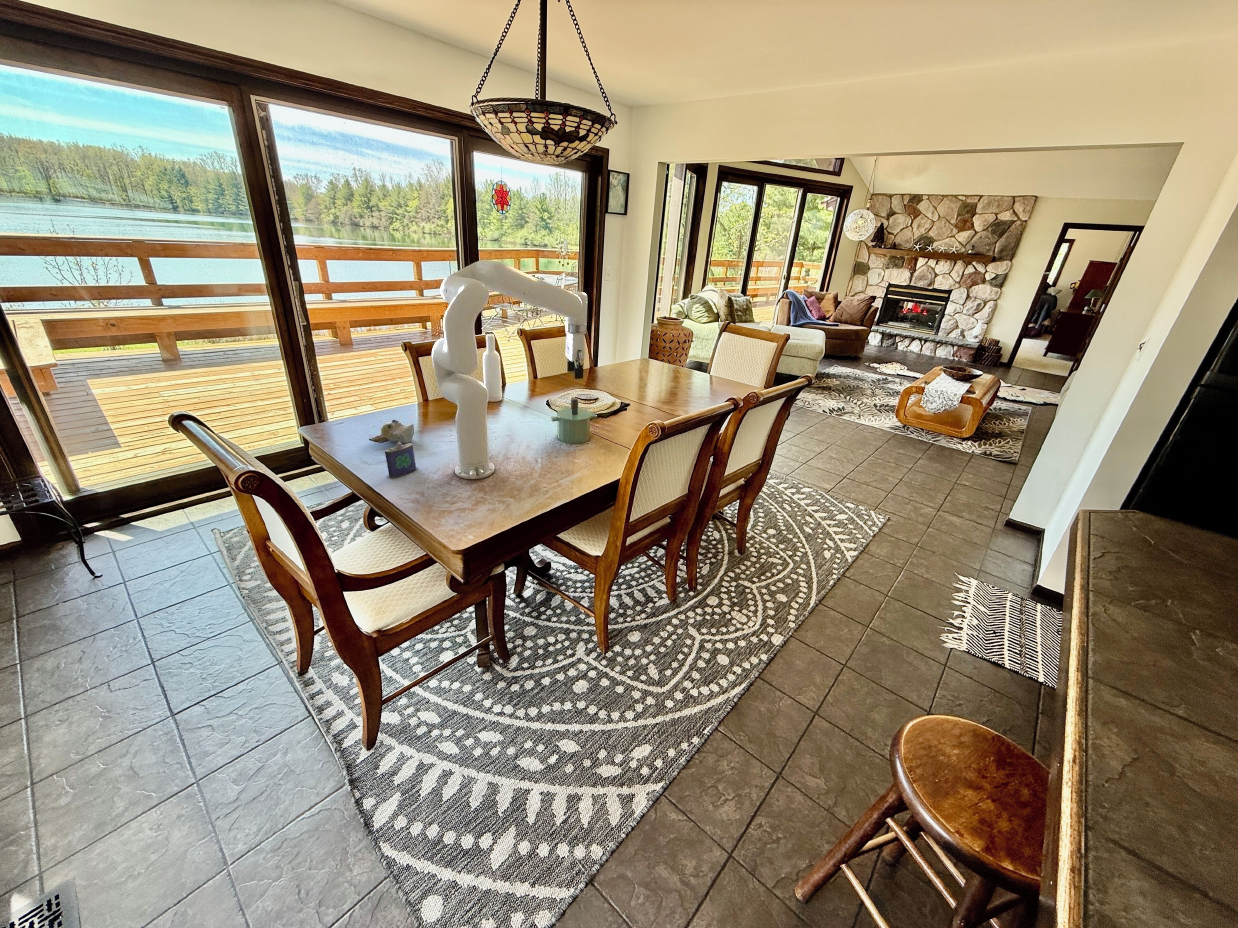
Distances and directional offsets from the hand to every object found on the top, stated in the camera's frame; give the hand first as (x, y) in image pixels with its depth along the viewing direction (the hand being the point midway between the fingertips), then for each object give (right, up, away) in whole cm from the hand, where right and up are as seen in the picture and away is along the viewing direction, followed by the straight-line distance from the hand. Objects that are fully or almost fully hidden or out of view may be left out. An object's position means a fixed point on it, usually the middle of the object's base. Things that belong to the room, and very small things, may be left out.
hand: (575, 375), depth 180 cm
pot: (-2, -23, +11) cm, 25 cm away
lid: (-1, -14, +7) cm, 16 cm away
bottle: (-43, -3, +47) cm, 64 cm away
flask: (-53, -36, -25) cm, 69 cm away
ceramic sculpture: (-66, -25, -3) cm, 71 cm away
